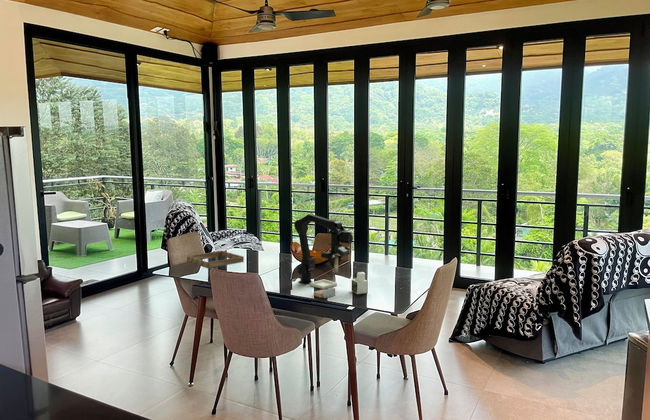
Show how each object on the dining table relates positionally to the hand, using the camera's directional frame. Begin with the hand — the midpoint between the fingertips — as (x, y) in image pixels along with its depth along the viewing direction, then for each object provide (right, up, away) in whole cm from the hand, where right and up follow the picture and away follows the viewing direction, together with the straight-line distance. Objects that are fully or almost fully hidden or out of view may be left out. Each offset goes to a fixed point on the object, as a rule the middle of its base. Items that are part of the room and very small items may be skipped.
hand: (335, 267), depth 295 cm
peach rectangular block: (-8, -15, -13) cm, 21 cm away
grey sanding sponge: (-4, -14, -16) cm, 22 cm away
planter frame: (-87, -4, +69) cm, 111 cm away
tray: (-7, -12, +6) cm, 15 cm away
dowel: (0, -3, 0) cm, 3 cm away
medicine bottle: (+14, -14, -7) cm, 21 cm away
